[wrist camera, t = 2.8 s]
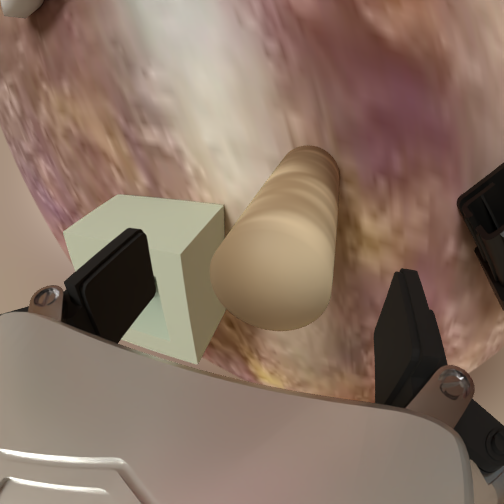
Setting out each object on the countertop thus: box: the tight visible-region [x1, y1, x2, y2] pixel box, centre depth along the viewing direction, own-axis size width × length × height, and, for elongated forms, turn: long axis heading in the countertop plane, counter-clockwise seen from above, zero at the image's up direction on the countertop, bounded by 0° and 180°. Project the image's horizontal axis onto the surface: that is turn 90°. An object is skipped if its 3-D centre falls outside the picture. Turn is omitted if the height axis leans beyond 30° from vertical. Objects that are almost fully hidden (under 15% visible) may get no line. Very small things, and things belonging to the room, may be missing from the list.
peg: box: [210, 146, 340, 331], centre depth 15 cm, size 4×4×12 cm
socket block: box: [63, 194, 226, 364], centre depth 23 cm, size 10×10×7 cm
